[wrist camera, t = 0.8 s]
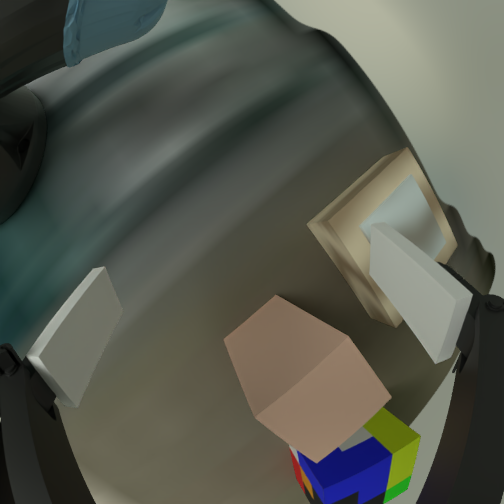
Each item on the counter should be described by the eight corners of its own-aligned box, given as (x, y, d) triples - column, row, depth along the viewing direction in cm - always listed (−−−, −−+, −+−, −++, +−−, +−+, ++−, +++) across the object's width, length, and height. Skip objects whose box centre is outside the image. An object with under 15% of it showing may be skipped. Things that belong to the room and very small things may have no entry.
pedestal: (306, 224, 25) (330, 220, 20) (382, 157, 26) (410, 145, 22) (370, 318, 27) (398, 329, 22) (431, 244, 28) (460, 245, 24)
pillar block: (223, 339, 23) (254, 417, 12) (276, 294, 24) (348, 336, 13) (265, 381, 24) (316, 463, 13) (313, 340, 25) (391, 397, 14)
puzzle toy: (284, 427, 25) (323, 489, 15) (366, 393, 27) (420, 435, 17) (296, 478, 26) (327, 531, 16) (365, 448, 28) (407, 489, 18)
